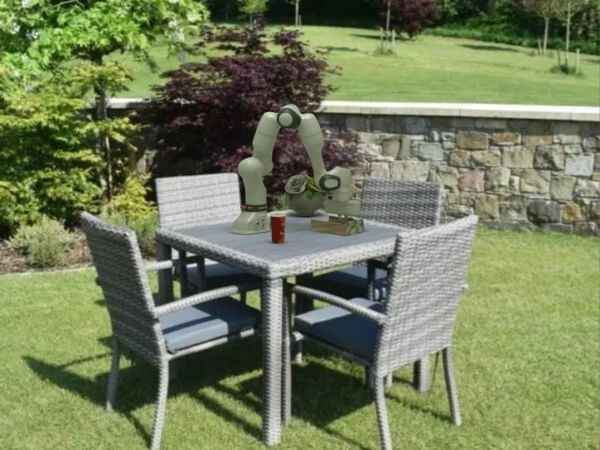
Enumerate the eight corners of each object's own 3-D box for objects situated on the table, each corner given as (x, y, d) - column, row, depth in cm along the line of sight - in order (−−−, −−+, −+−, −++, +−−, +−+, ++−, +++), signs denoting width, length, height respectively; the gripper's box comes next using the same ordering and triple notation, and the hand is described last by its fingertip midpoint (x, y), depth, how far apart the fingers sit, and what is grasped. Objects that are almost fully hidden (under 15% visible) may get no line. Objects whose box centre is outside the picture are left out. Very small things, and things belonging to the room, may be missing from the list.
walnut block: (346, 227, 396) (347, 219, 395) (341, 226, 400) (341, 217, 399) (353, 226, 399) (353, 218, 398) (348, 225, 402) (348, 216, 401)
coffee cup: (287, 243, 370) (286, 213, 368) (270, 244, 370) (269, 213, 367) (285, 240, 379) (285, 210, 376) (269, 240, 378) (269, 211, 375)
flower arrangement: (277, 217, 442) (277, 175, 437) (293, 211, 465) (293, 171, 460) (317, 220, 433) (318, 177, 429) (331, 213, 456) (332, 172, 452)
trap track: (345, 236, 388) (345, 222, 387) (310, 230, 403) (310, 217, 402) (363, 231, 400) (363, 218, 399) (329, 226, 415) (329, 213, 414)
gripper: (363, 197, 398) (363, 223, 401) (328, 194, 408) (328, 220, 410) (358, 198, 393) (358, 225, 395) (323, 196, 402) (323, 221, 405)
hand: (342, 222), depth 403 cm, fingers closed
